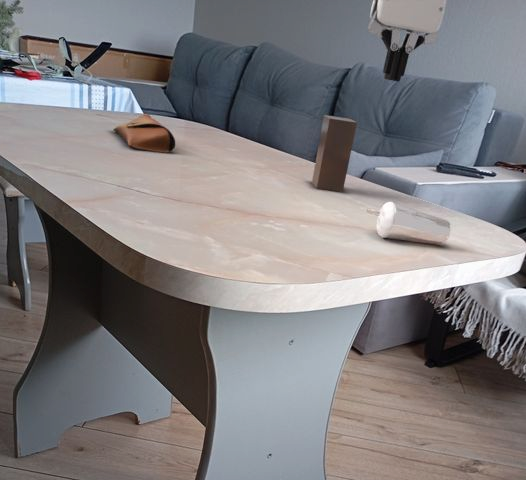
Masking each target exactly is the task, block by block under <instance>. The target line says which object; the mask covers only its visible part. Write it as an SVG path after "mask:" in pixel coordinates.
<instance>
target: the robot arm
mask: <svg viewBox="0 0 526 480" xmlns="http://www.w3.org/2000/svg"><path fill="white" fill-rule="evenodd" d="M447 1H448V0H372V3H371V8H370V13H369V19H370V22H369V23H368V26H367V30H368V31H369V32H370V33H372V34H374V35H376V36H378V37H380V38H381V40H382V42H383V44H384V46H385V50H386V56H385V60H384V64H383V68H382V73H383V74H384V77H383V78H384V80H389V81H394V82H400V81H401V78H402V77H403V76H405V73H406V69H407V66H408V65H407V64H408V61H409V56H410V54H412V53H413V52H414V50H416V49H417V48H419V47H420V46H421V45H429V44H435V43H436V42H437V41H438V32H439V30H440V28H441V25H442V22H443V19H444V15H445V11H446V7H447ZM401 30H402V31H405V34H404V36H403V39H402V42H401V44H400V38H401V37H400V36H401ZM399 46H400V47H399Z"/></svg>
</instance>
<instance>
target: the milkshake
mask: <svg viewBox="0 0 526 480" xmlns="http://www.w3.org/2000/svg"><path fill="white" fill-rule="evenodd" d="M366 213H367V214H371V215H373V216H377V219H376V227H375V229H376V232H377V233H378V235H379V236H380V238H382V239H391V240H399V241H400V240H401V241H409V242H416V243H421V244H428V245H437V246H443V245H445V244H446V243H447V241H448V239H449V237H450V234H451V231H452V229H451V228H452V227H451V222H450V221H449V220H448V219H446V218H442V217H440V216H436V215H433V214H429V213H427V212H424V211H420V210H416V209H414V208H411V207H407V206H405V205H402V204H400V203H397V202H394V201H388V202H385V203H384V204H383V205H382V207H381V208H380V210H379V211H376V210H374V209H369V208H367V210H366Z"/></svg>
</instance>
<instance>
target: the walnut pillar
mask: <svg viewBox="0 0 526 480" xmlns="http://www.w3.org/2000/svg"><path fill="white" fill-rule="evenodd" d="M357 125H358V122H357V121H355V120H353V119H351V118H347V117H340V116H334V115H327V114H324V115H323V119H322V125H321V129H320V130H321V132H320V134H319V135H320V136H319V140H318V147H317V154H316V157H315V164H314V169H313V174H312V180H311V183H312V185H313V186H314V187H315V188H316V189H317V190H324V191H331V192H332V191H334V192H340V193H343V192H344V188H345V184H346V178H347V173H348V170H349V169H348V168H349V164H350V159H351V153H352V148H353V144H354V140H355V134H356V130H357Z"/></svg>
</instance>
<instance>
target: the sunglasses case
mask: <svg viewBox="0 0 526 480" xmlns="http://www.w3.org/2000/svg"><path fill="white" fill-rule="evenodd" d="M112 131H114V132H116V134H118V135H119V137H121V138H122V140H123V141H124V142H125V144H126V145H127V146H128V147H131V148H134V149H138V150H143V151H146V152H156V153H167V154H168V153H171V152H173V150H174V149H175V148H176V139H175V136H174V135H173V133H172V131H170V129H169V128H167V127H166V126H164V125H162V124H161V123H160V122H159V121H157V120H156V119H154V118H153V117H152V116H151V115H150V114H149V113H143V114H141V115H139V116H138V117H136V118H134V119H133V120H131V121H129V122H126V123H124V124H121V125H118V126H116V127H114V128H113V130H112Z"/></svg>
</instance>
